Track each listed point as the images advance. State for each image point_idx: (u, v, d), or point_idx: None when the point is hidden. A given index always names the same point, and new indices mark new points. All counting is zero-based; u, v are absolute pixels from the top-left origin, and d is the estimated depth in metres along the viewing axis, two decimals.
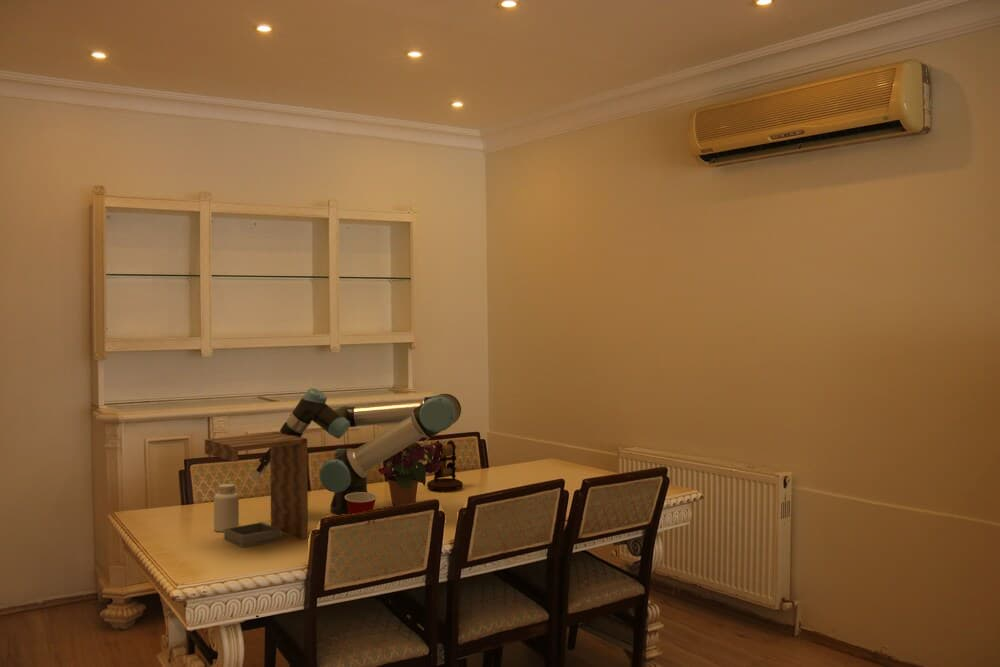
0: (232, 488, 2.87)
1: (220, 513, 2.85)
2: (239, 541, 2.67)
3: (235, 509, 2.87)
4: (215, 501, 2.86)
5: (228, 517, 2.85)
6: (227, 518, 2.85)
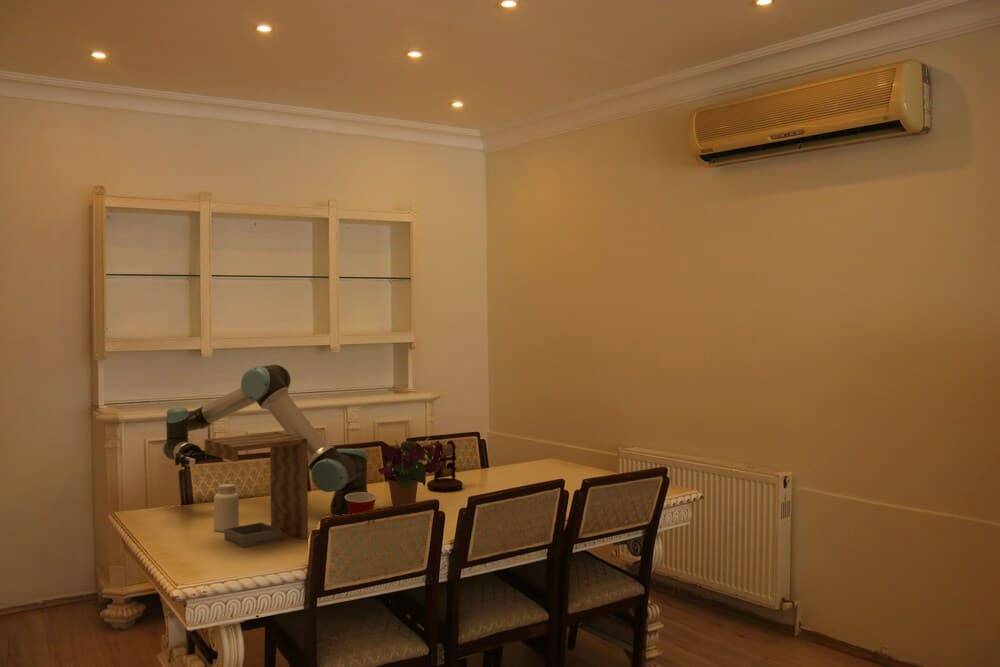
0: (232, 488, 2.87)
1: (220, 513, 2.85)
2: (239, 541, 2.67)
3: (235, 509, 2.87)
4: (215, 501, 2.86)
5: (228, 517, 2.85)
6: (227, 518, 2.85)
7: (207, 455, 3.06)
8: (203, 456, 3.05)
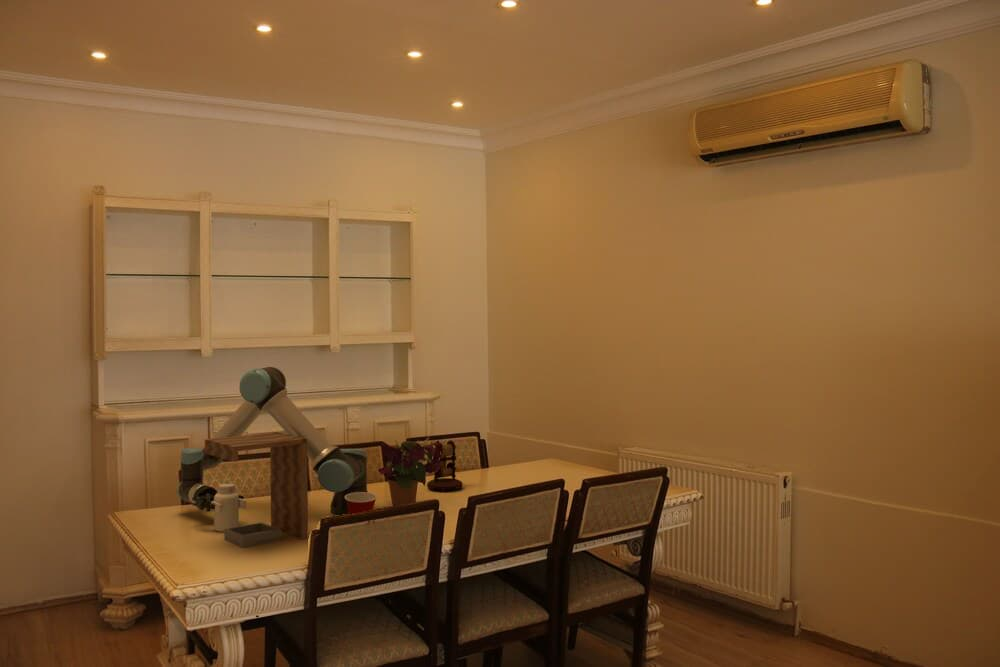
0: (232, 488, 2.87)
1: (220, 513, 2.85)
2: (239, 541, 2.67)
3: (235, 509, 2.87)
4: (215, 501, 2.86)
5: (228, 517, 2.85)
6: (227, 518, 2.85)
7: None
8: None
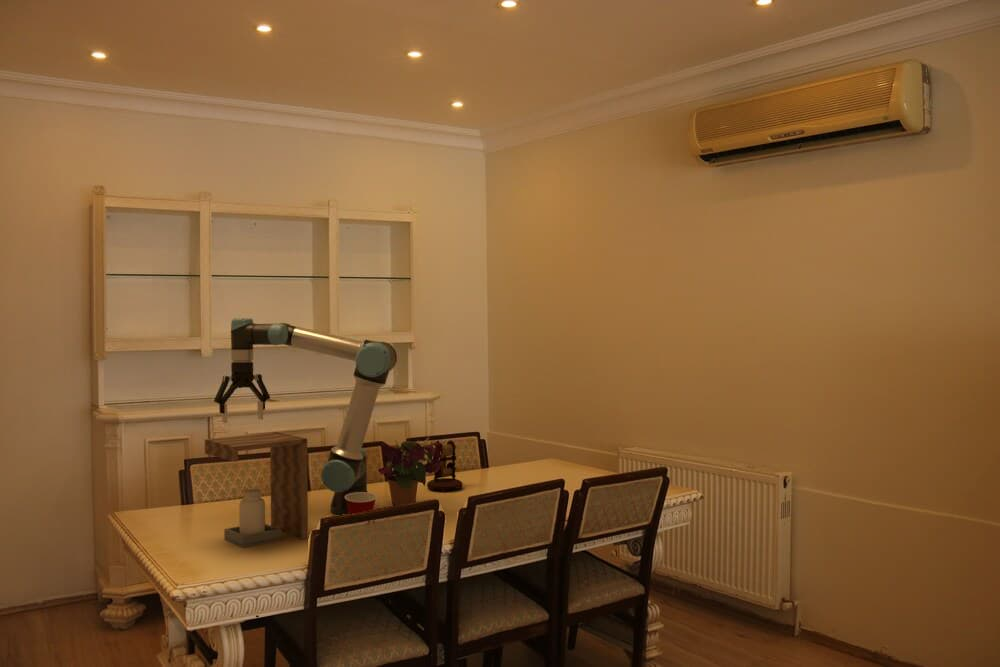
0: (258, 494, 2.74)
1: (246, 520, 2.71)
2: (239, 541, 2.67)
3: (262, 516, 2.73)
4: (241, 507, 2.72)
5: (254, 524, 2.71)
6: (253, 525, 2.71)
7: (250, 387, 3.06)
8: None
